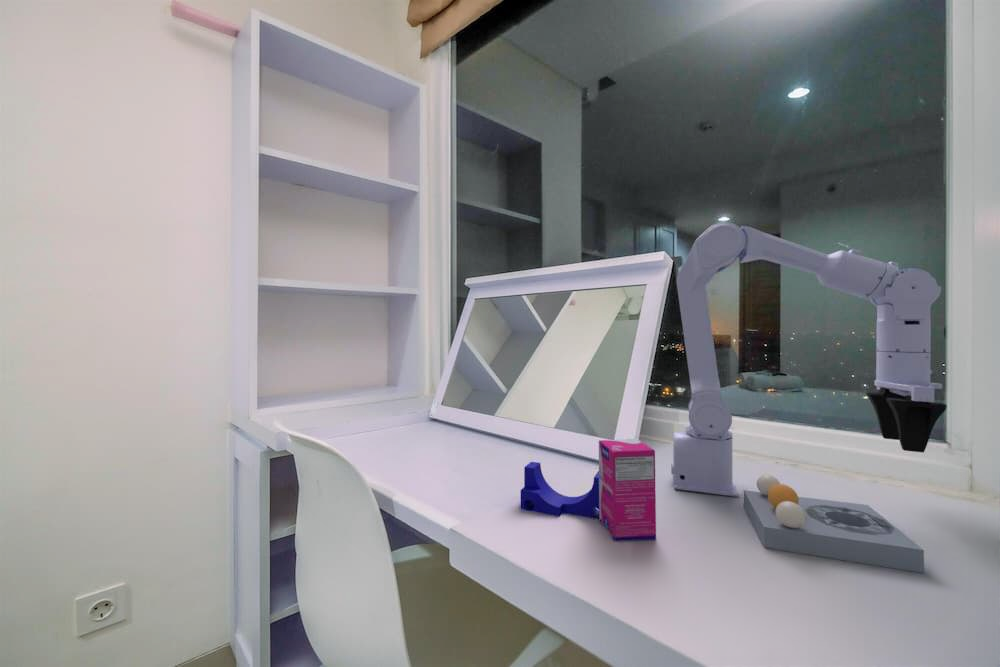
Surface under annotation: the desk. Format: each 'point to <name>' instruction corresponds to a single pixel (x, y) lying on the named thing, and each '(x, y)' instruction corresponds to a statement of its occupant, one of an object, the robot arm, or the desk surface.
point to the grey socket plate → (835, 533)
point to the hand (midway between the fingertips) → (902, 444)
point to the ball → (781, 494)
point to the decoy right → (790, 514)
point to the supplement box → (627, 489)
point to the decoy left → (766, 483)
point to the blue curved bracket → (556, 496)
